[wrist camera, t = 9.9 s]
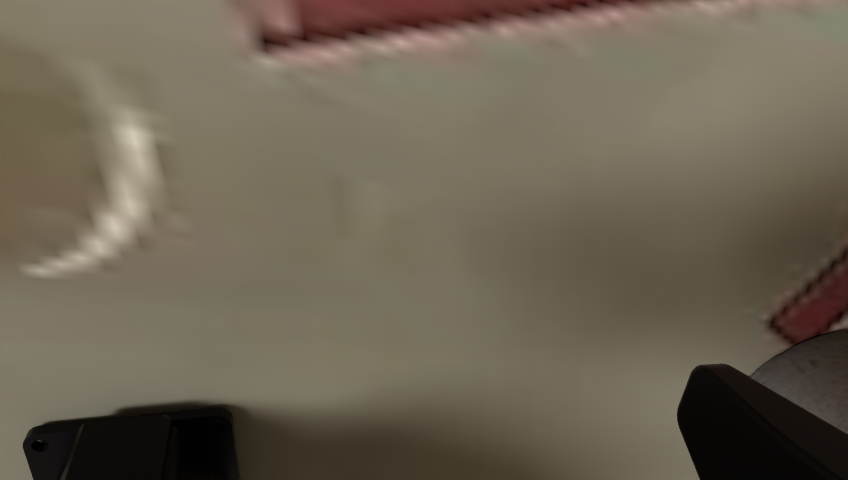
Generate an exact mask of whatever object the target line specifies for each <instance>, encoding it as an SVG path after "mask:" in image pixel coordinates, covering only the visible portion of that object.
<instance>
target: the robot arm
mask: <svg viewBox="0 0 848 480" xmlns="http://www.w3.org/2000/svg"><path fill="white" fill-rule="evenodd" d="M677 420H678V425H679V428H680V431H681V433H682V436H683V438H684V441H685V443H686V446H687V448H688V451H689V453H690V456H691V458H692V461H693V463H694V466H695V468H696V471H697V473H698V476H699V478H700V480H848V434H847V433H845V432H843V431H842V430H840V429H838V428H836V427H835V426H833V425H831V424H829V423H828V422H826V421H824V420H823V419H821V418H819V417H817V416H816V415H814V414H812V413H811V412H809V411H807V410H805V409H804V408H802V407H800V406H799V405H797V404H795V403H793V402H792V401H790V400H788V399H787V398H785V397H783V396H781V395H780V394H778V393H776V392H774V391H773V390H771V389H769V388H768V387H766V386H764V385H762V384H761V383H759V382H757V381H756V380H754V379H752V378H750V377H749V376H747V375H745V374H744V373H742V372H740V371H738V370H737V369H735V368H733V367H731V366H729V365H727V364H708V365H699V366H697V367H696V368H695V369H693V370H692V372H691V374H690V377H689V380H688V382H687V385H686V388H685V390H684V393H683V395H682V398H681V401H680V403H679V406H678V410H677ZM215 421H220V422H222V423H221V424H214V423H212V422H215ZM37 440H43V441H45V442H46V443H42V442H39V441H37ZM23 449H24V452H25V455H26V458H27V461H28V464H29V467H30V470H31V473H32V476H33V479H34V480H240V474H239V465H238V457H237V449H236V440H235V432H234V423H233V416H232V414H231V412H229V411H228V410H227V409H224V408H208V409H198V410H188V411H178V412H169V413H159V414H149V415H139V416H129V417H120V418H110V419H100V420H90V421H80V422H71V423H61V424H51V425H41V426H37V427H34V428H32V429H30V430H29V432H28V433H27V435H26V437H25V440H24V442H23Z"/></svg>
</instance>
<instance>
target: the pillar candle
mask: <svg viewBox="0 0 848 480" xmlns="http://www.w3.org/2000/svg"><path fill="white" fill-rule="evenodd" d="M750 378H752V379H754V380H756V381H757V382H759V383H761V384H762V385H764V386H766V387H768V388H769V389H771V390H773V391H774V392H776V393H778V394H780V395H781V396H783V397H785V398H787V399H788V400H790V401H792V402H793V403H795V404H797V405H799V406H800V407H802V408H804V409H805V410H807V411H809V412H811V413H812V414H814V415H816V416H817V417H819V418H821V419H823V420H824V421H826V422H828V423H829V424H831V425H833V426H835V427H836V428H838V429H840V430H842V431H843V432H845V433H847V434H848V330H844V331H837V332H834V333H830V334H825V335H821V336H818V337H815V338H812V339H809V340H807V341H805V342H802V343H800V344H798V345H796V346H794V347H792V348H790V349H789V350H786V351H785V353H782V354H779V355H777V356H775V357H774V358H772V359H771V360H770V361H768V362H767V363H765V364H764V365H762V366H761V367H760V368H759V369H757V370H756V371H755V373H754V374H752V375H751V377H750Z"/></svg>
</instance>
